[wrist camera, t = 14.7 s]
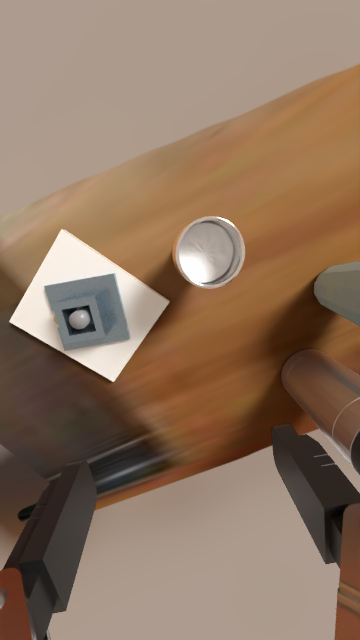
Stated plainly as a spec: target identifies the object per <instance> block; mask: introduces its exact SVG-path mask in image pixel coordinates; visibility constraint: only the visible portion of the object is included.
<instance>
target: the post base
mask: <svg viewBox="0 0 360 640" xmlns="http://www.w3.org/2000/svg"><path fill="white" fill-rule="evenodd" d="M112 273H115V274H116V279H117V283H118V287H119V291H120V295H121V299H122V304H123V308H124V312H125V316H126V320H127V325H128V329H129V333H130V339H128V340H123V341H117V342H112V343H106V344H101V345H95V346H90V347H84V348H79V349H73V350H68V351H64V348H63V344H62V341H61V338H60V335H59V332H58V329H57V328H58V327H59V326H58V323H57V319H56V316H55V313H54V311H52V310H51V307H50V303H49V300H48V297H47V294H46V291H45V288H44V286H46V285H51V284H57V283H62V282H68V281H73V280H79V279H84V278H90V277H95V276H101V275H106V274H112ZM168 304H169V300H168V299H166V298H165V297H163V296H162V295H160V294H159V293H157V292H156V291H154V290H153V289H152V288H150V287H149V286H147V285H146V284H144V283H143V282H141V281H140V280H138V279H137V278H135V277H134V276H132V275H131V274H129V273H128V272H127V271H125V270H124V269H122V268H121V267H119V266H118V265H116V264H115V263H113V262H112V261H110V260H109V259H107V258H106V257H104V256H103V255H101V254H100V253H99V252H97V251H96V250H94V249H93V248H91V247H90V246H88V245H87V244H85V243H84V242H82V241H81V240H79V239H78V238H76V237H75V236H74V235H72V234H71V233H69V232H68V231H66V230H61V231H60V233H59V235H58V237H57V238H56V240H55V242H54V244H53V245H52V247H51V249H50V251H49V252H48V254H47V256H46V258H45V260H44V261H43V263H42V265H41V267H40V268H39V270H38V272H37V274H36V275H35V277H34V279H33V281H32V282H31V284H30V286H29V288H28V290H27V291H26V293H25V295H24V297H23V298H22V300H21V302H20V304H19V305H18V307H17V309H16V311H15V312H14V314H13V316H12V318H11V319H10V321H9V322H10V323H12V324H14V325H16V326H17V327H19V328H21V329H23V330H24V331H26V332H28V333H29V334H31V335H33V336H35V337H36V338H38V339H40V340H42V341H43V342H45V343H47V344H49V345H50V346H52V347H54V348H55V349H57V350H59V351H61V352H62V353H64V354H66V355H68V356H69V357H71V358H73V359H75V360H76V361H78V362H80V363H81V364H83V365H85V366H87V367H88V368H90V369H92V370H94V371H95V372H97V373H99V374H101V375H102V376H104V377H106V378H107V379H109V380H111V381H113V382H114V381H115V379H116V378H117V376H118V375H119V374H120V372H121V371H122V369H123V368H124V366H125V365H126V364H127V362H128V361H129V359H130V358H131V356H132V355H133V354H134V352H135V351H136V349H137V348H138V346H139V345H140V344H141V342H142V341H143V339H144V338H145V336H146V335H147V334H148V332H149V331H150V329H151V328H152V326H153V325H154V324H155V322H156V321H157V319H158V318H159V316H160V315H161V314H162V312H163V311H164V309H165V308H166V306H167V305H168ZM69 322H70V325H71V326H72V327H73V328H75V329H83V328H85V327H86V326H87V325H88V324H93V323H94V321H93V318H92V314H91V310H90V307H89V305H86V306H80V307H77V311H75V312H74V313H72V314H71V315H70V317H69Z"/></svg>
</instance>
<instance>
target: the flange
mask: <svg viewBox="0 0 360 640" xmlns="http://www.w3.org/2000/svg"><path fill="white" fill-rule="evenodd" d="M44 288H45V291H46V294H47V297H48V300H49V303H50V307H51V310H52V311H54V313H55V316H56V319H57V323H58V326H59V327H58V328H57V329H58V332H59V335H60V338H61V341H62V344H63V348H64V351H68V350H73V349H79V348H84V347H90V346H95V345H101V344H106V343H112V342H117V341H123V340H128V339H130V333H129V329H128V325H127V320H126V316H125V312H124V308H123V304H122V299H121V295H120V291H119V287H118V283H117V279H116V274H115V273H112V274H106V275H101V276H95V277H90V278H84V279H79V280H73V281H68V282H62V283H57V284H51V285H46V286H44ZM86 305H89V307H90V310H91V314H92V318H93V321H94V323H93V324H88V325H87V326H86V327H85V328H83V329H75V328H73V327H72V326H71V325H70V322H69V317H70V315H71V314H72V313H74V312H75V311H77V307H80V306H86Z"/></svg>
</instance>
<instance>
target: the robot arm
mask: <svg viewBox="0 0 360 640" xmlns="http://www.w3.org/2000/svg"><path fill="white" fill-rule="evenodd" d="M281 381H282V385H283V387H284V388H285V390H286V391H287V392H288V393H289V394H290V395H291V397H292V398H293V399H294V400H295V401H296V402H297V404H298V405H299V406H300V407H301V408H302V409H303V410H304V412H305V413H306V414H307V415H308V416H309V417H310V419H311V420H312V421H313V422H314V423H315V424H316V425H317V427H318V428H319V429H320V430H321V431H322V432H323V433H324V435H325V436H326V437H327V438H328V439H329V440H330V441H331V443H332V444H333V445H334V446H335V447H336V448H337V450H338V451H339V452H340V453H341V454H342V455H343V456H344V457H345V459H347V461H348V462H349V463H350V464H351V465H352V466H353V468H354V469H355V470H356V471H357V472H358V473H359V474H360V375H358V374H357V373H355V372H354V371H352V370H351V369H349V368H347V367H346V366H344V365H343V364H341V363H340V362H338V361H336V360H335V359H333V358H332V357H330V356H329V355H327V354H325V353H324V352H322V351H320V350H316V349H306V350H301V351H299V352H297V353H295V354H294V355H292V356H291V357H290V358H289V359H288V360H287V361H286V363H285V364H284V366H283V368H282V372H281ZM271 433H272V444H273V455H274V460H275V464H276V467H277V470H278V472H279V474H280V476H281V478H282V480H283V482H284V484H285V486H286V488H287V489H288V492H289V493H290V495H291V497H292V499H293V501H294V503H295V505H296V507H297V509H298V511H299V513H300V515H301V517H302V519H303V521H304V523H305V525H306V527H307V529H308V531H309V533H310V534H311V537H312V538H313V540H314V542H315V544H316V546H317V548H318V550H319V552H320V554H321V556H322V558H323V560H324V562H325V564H330V563H334V562H336V563H337V565H338V566H339V568H340V578H339V588H338V594H337V608H336V624H335V639H334V640H360V493H359V492H358V491H357V490H356V489H355V487H354V486H353V485H352V483H351V482H350V481H349V480H348V479H347V477H346V476H345V475H344V474H343V472H342V471H341V470H340V469H339V467H338V466H337V465H335V463H334V461H333V460H332V459H331V457H330V456H328V454H327V452H326V451H325V450H324V449H323V447H322V446H321V445H320V444H319V442H317V441H315V440H314V439H313V438H311V437H310V436H308V435H307V434H305V435H300V436H299V435H298V434H297V432H296V431H295V430H294V428H293V427H292V426H291V424H284V425H278V426H273V427H272V428H271ZM96 500H97V491H96V486H95V483H94V480H93V477H92V474H91V471H90V468H89V465H88V463H87V461H85V460H84V461H78V462H73V463H68V464H66V465H65V467H64V469H63V471H62V473H61V475H60V477H59V479H56V480H53V481H52V482H51V484H50V485H49V486H48V487H47V488H46V489H45V490H44V491H43V493H42V495H41V497H40V499H39V501H38V502H37V504H36V508H35V509H34V510H33V512H32V514H31V516H30V520H28V522H27V524H26V526H25V527H24V529H23V532H22V533H21V535H20V537H19V539H18V541H17V543H16V545H15V547H14V549H13V551H12V552H11V554H10V556H9V558H8V560H7V562H6V564H5V566H4V568H3V569H2V570H1V571H0V640H51V638H50V634H49V631H48V626H49V623H50V620H51V616H52V613H58V612H63V611H66V608H67V604H68V601H69V597H70V594H71V590H72V587H73V584H74V580H75V576H76V573H77V569H78V566H79V562H80V559H81V555H82V552H83V548H84V545H85V541H86V538H87V534H88V531H89V527H90V523H91V520H92V516H93V513H94V509H95V506H96Z"/></svg>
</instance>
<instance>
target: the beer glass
mask: <svg viewBox="0 0 360 640" xmlns="http://www.w3.org/2000/svg"><path fill="white" fill-rule="evenodd" d="M172 257H173V262H174V266H175V268H176V270H177V271H178V273H179V274H180V275H181V276H182V277H183V278H184V279H185V280H186V281H187V282H189V283H191V284H193V285H195V286H197V287H200V288H206V289H213V288H218V287H221V286H224V285H226V284H227V283H229V282H230V281H231V280H233V279H234V278H235V277H236V275H237V274H238V273H239V271H240V269H241V268H242V265H243V262H244V258H245V244H244V240H243V238H242V235H241V233H240V232H239V230H238V229H237V228H236V227H235V226H234V225H233V224H232V223H231V222H229V221H228V220H226V219H224V218H221V217H216V216H207V217H202V218H199V219H197V220H195V221H193V222H191V223H189V224H188V225H186V226H185V227H184V228H183V229H182V230H181V231H180V232H179V234H178V235H177V237H176V239H175V241H174V244H173V250H172Z"/></svg>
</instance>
